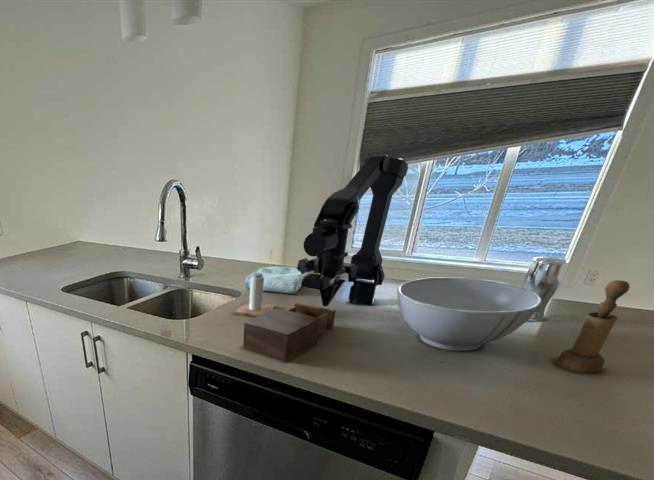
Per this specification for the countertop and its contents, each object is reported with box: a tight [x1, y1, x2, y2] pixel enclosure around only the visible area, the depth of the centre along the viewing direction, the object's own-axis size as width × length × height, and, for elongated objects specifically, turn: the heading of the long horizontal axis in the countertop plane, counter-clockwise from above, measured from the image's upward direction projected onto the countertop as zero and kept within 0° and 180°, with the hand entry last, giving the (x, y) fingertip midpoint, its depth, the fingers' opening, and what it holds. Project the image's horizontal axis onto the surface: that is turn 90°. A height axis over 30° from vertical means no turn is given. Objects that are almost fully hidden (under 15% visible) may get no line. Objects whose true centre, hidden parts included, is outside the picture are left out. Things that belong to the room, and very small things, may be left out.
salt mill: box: [248, 272, 264, 310], centre depth 125 cm, size 4×4×11 cm
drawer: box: [286, 302, 336, 336], centre depth 108 cm, size 14×11×5 cm
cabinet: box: [242, 307, 319, 362], centre depth 103 cm, size 14×13×7 cm
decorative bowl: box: [396, 276, 542, 352], centre depth 96 cm, size 27×27×12 cm
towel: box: [244, 266, 309, 295], centre depth 148 cm, size 18×21×5 cm
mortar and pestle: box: [556, 279, 631, 374], centre depth 80 cm, size 7×6×18 cm
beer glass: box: [522, 256, 570, 322], centre depth 103 cm, size 7×7×15 cm
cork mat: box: [233, 301, 276, 317], centre depth 128 cm, size 10×10×1 cm
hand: (325, 305), depth 113 cm, fingers closed
